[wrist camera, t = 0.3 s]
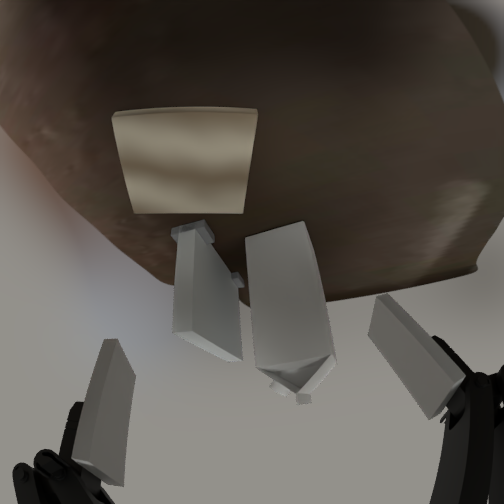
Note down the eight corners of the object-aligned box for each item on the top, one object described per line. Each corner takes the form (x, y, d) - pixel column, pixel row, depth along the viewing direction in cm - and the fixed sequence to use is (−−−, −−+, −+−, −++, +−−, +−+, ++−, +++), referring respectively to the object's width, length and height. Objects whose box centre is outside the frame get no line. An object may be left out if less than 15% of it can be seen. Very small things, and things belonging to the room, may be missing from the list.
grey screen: (171, 228, 29) (162, 333, 23) (204, 219, 29) (202, 329, 22) (219, 285, 42) (221, 362, 35) (244, 280, 41) (250, 359, 34)
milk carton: (303, 218, 30) (338, 397, 19) (314, 250, 36) (342, 397, 25) (244, 236, 32) (258, 409, 21) (263, 264, 37) (279, 407, 27)
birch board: (115, 111, 17) (111, 117, 16) (256, 108, 19) (258, 114, 18) (136, 206, 26) (134, 213, 25) (242, 206, 28) (242, 213, 27)
